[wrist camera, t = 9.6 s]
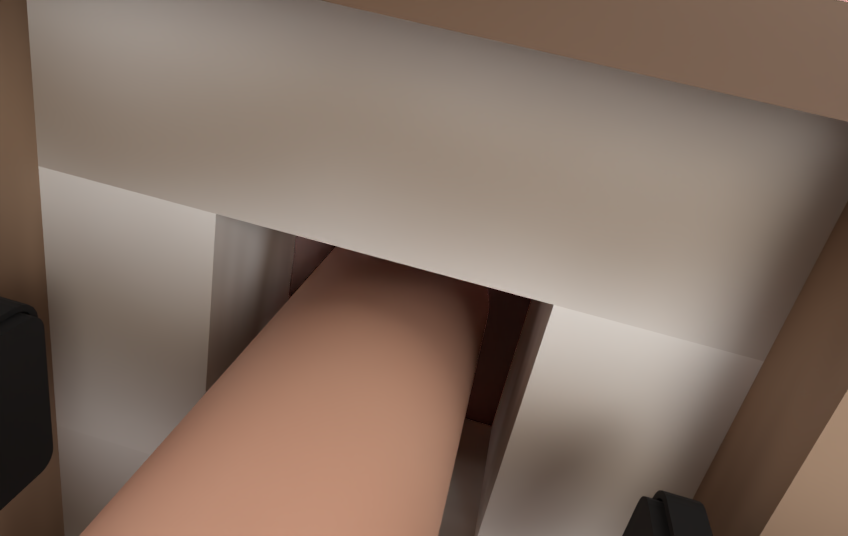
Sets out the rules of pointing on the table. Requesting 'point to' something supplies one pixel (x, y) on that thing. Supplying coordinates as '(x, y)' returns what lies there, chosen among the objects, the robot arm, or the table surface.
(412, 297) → the peg
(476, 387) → the table surface
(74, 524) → the bore box
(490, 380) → the table surface
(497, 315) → the table surface
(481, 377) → the table surface
